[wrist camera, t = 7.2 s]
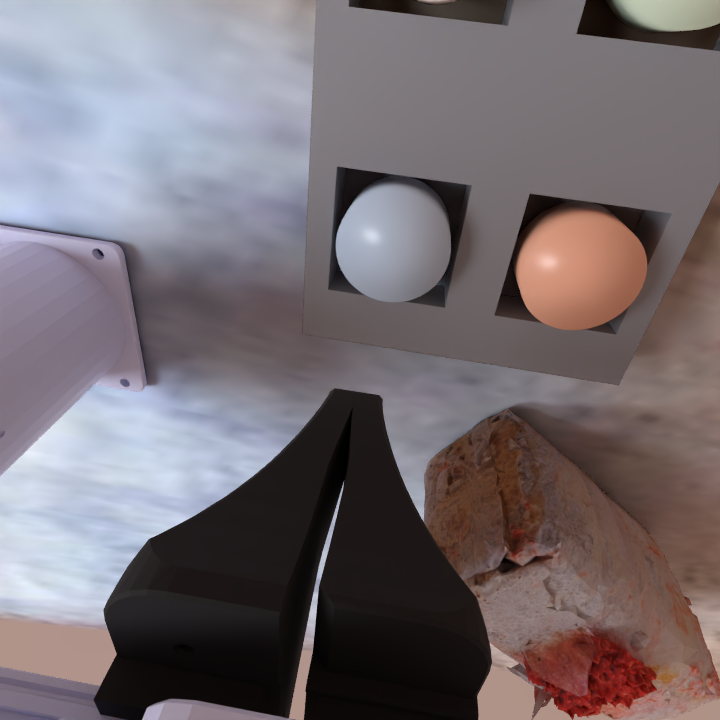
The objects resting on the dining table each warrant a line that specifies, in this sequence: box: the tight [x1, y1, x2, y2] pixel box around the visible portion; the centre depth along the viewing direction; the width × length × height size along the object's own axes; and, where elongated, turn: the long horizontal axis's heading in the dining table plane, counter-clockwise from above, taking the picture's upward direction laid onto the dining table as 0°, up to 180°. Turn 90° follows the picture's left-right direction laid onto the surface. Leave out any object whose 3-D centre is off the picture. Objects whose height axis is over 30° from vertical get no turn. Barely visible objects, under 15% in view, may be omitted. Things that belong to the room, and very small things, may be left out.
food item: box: [424, 409, 720, 720], centre depth 22 cm, size 14×8×10 cm, turn 48°
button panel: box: [302, 0, 720, 385], centre depth 16 cm, size 13×18×2 cm
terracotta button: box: [513, 201, 647, 330], centre depth 17 cm, size 4×4×2 cm
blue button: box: [336, 176, 451, 302], centre depth 18 cm, size 4×4×2 cm
